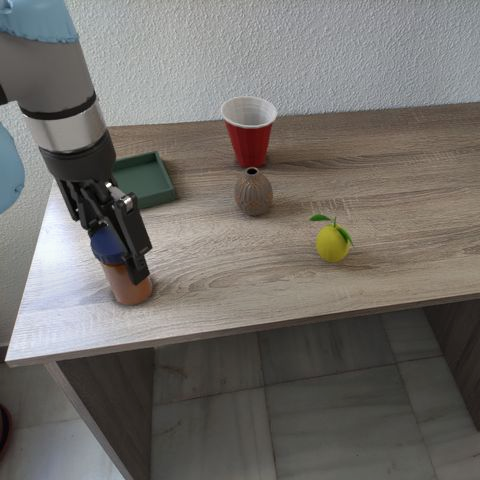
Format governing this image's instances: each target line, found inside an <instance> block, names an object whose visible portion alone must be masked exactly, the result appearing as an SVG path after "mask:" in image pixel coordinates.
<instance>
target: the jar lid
mask: <svg viewBox="0 0 480 480" xmlns="http://www.w3.org/2000/svg"><path fill="white" fill-rule="evenodd" d="M89 244H90V250H91V252H92V254H93V256H94V258H95V260H98V262H99V261H100V262H103V263H106V264H118V263H122V262H124V261H123V259H122V258H121V257H120V256H121V253H122V252H123V250H122V248H121V246H120V245H119V243H118V241H117V239H116V238H115V236H114V234H113V233H112V231H111V229H110V228H109V226H108V225H107V226H105V227H103V228H101V229H100V230H98V231H97V232H96V233H95V234H94V235H93V236H92V238H91V240H90V242H89ZM100 262H99V263H100Z"/></svg>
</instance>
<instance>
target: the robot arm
mask: <svg viewBox="0 0 480 480" xmlns="http://www.w3.org/2000/svg"><path fill="white" fill-rule="evenodd" d="M15 101H16V102H17V105H18V108H19V110H20V114H21V115H22V118H23V120H24V123H25V124H26V127H27V128H28V130H29V133H30V135H31V137H32V139H33V142H34V143H35V144H36V145H37V147H38V151H39V152H40V155H41V157H42V159H43V161H44V163H45V166H46V168H47V170H48V172H49V173H50V174H51V175H52V177H53V178H54V179H55V182H56V185H57V187H58V189H59V192H60V194H61V197H62V199H63V202H64V203H65V206H66V208H67V211H68V213H69V216H70V218H71V219H72V221H74V222H76V223H77V222H80V226H81V228H82V229H83V230H85V231H87V232H86V234H87V235H88V238H89V240H90V241H91V238H92V236H93V235H94V234H95V233H96V232H97V231H98V230H100V229H101V228H103V227H105V226H109V228H110V229H111V231H112V233H113V234H114V236H115V238H116V239H117V241H118V243H119V245H120V246H121V248H122V250H123V252H122V253H121V256H120V257H121V258H122V259H123V261H124V264H125V266H126V269H127V271H128V274H129V276H130V279H131V281H132V284H134V285H135V286H137V285H138V284H139V283H140V282H142V281H143V280H144V279H145V278H146V277H148V276H149V277H150V275H151V272H150V269H149V267H148V263H147V260H146V257H145V255H147V254H148V253H149V252H151V250H153V244H152V242H151V239H150V236H149V233H148V231H147V228H146V225H145V223H144V220H143V217H142V214H141V212H140V209H138V200H137V196H136V195H135V194H134V193H133V192H129V193H128V194H124V193H123V192H122V191H121V190H119V189H118V183H117V181H116V180H115V178H114V177H113V175H112V173H111V172H112V168H113V166H114V163H115V161H116V160H117V153H116V149H115V146H114V143H113V139H112V137H111V134H110V131H109V129H108V128H107V123H106V120H105V117H104V114H103V112H102V107H101V105H100V102H99V101H100V98H99V95H98V94H97V93H96V90H95V87H94V83H93V80H92V77H91V74H90V70H89V68H88V64H87V61H86V58H85V55H84V51H83V49H82V45H81V42H80V34H79V32H78V31H77V29H76V26H75V24H74V21H73V19H72V16H71V14H70V12H69V9H68V6H67V4H66V2H65V0H0V107H1V106H5V105H8V104H9V103H13V102H15ZM11 134H12V133H10V131H9V130H8V129H7V128H6V127H5V126H4V125H3V123H2V122H1V121H0V216H1V215H2V214H4V213H6V212H7V211H8V210H9V209H10V208H12V207H13V205H14V204H15V203H16V202H17V201H18V199H19V198H20V196H21V195H22V191H23V190H24V188H25V187H26V186H25V182H26V181H25V180H26V171H25V166H24V163H23V161H22V158H21V156H20V154H19V151H18V148H17V145H16V143H15V139H14V137H13V135H11ZM104 205H105V206H104ZM102 206H103V207H102ZM103 220H104V221H103ZM100 222H101V223H100Z"/></svg>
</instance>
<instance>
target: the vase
mask: <svg viewBox="0 0 480 480" xmlns="http://www.w3.org/2000/svg"><path fill="white" fill-rule="evenodd" d="M233 195H234V201H235V203H236V206H238V208H239V210H240V211H241V212H243V213H244V214H245V215H248V216H253V217H255V216H260V215H263V214H265V213H266V212H267V211H268V210H269V209H270V208H271V206H272V203H273V199H274V190H273V186H272V183H271V181H270V180H269V178H268V177H267V176H265V174H263V173H262V172H261V171H260V170H259V168H258V167H257V168H255V167H249V168H245V170H244V172H243V173H242V174H241V176H239V178H238V179H237V181H236V183H235V185H234V191H233Z"/></svg>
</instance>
